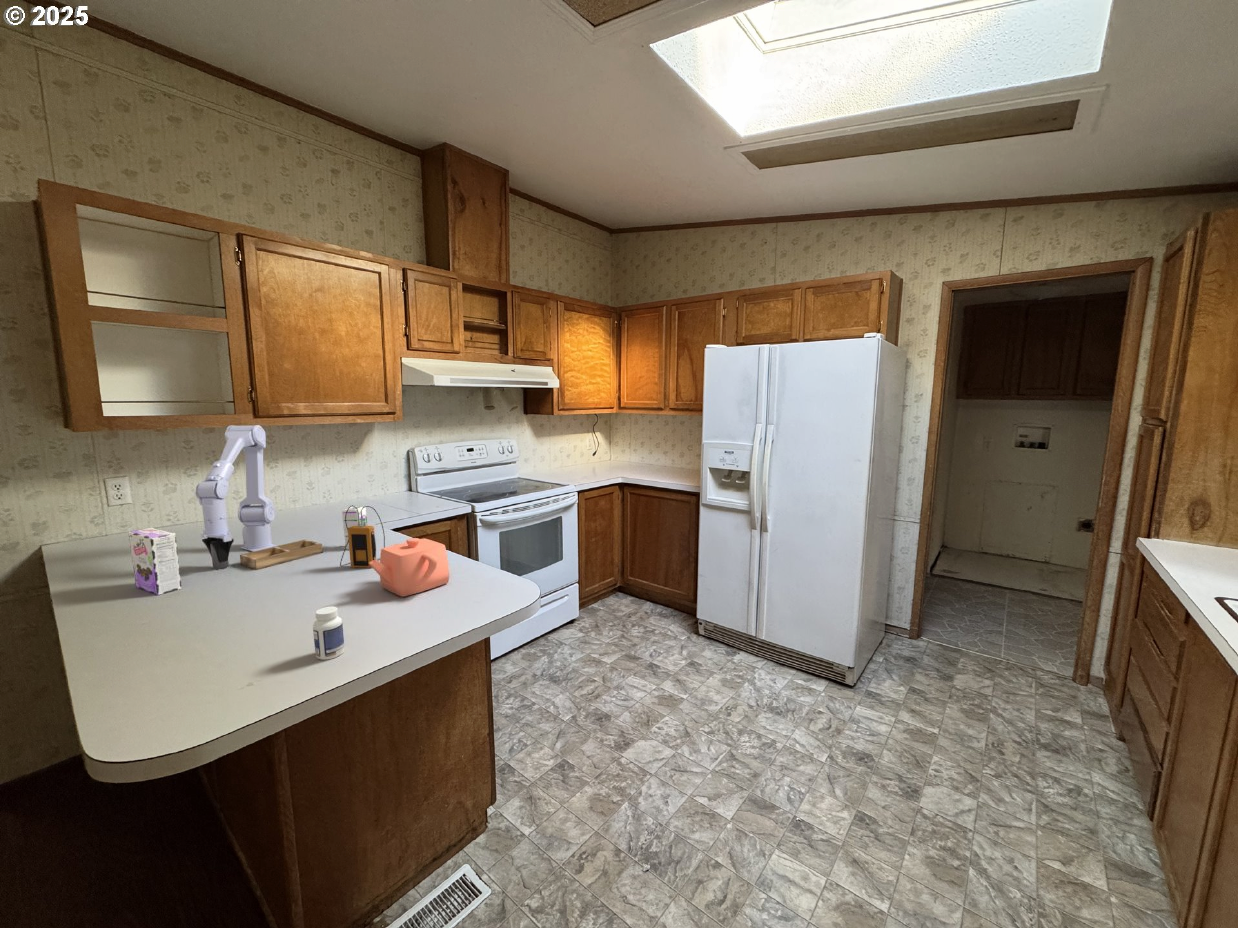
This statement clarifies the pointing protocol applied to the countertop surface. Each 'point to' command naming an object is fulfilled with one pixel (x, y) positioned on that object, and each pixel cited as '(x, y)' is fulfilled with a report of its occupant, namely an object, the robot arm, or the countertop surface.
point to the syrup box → (353, 520)
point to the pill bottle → (328, 633)
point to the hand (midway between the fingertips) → (220, 560)
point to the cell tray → (280, 554)
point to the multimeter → (361, 543)
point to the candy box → (155, 560)
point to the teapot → (412, 566)
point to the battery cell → (215, 561)
